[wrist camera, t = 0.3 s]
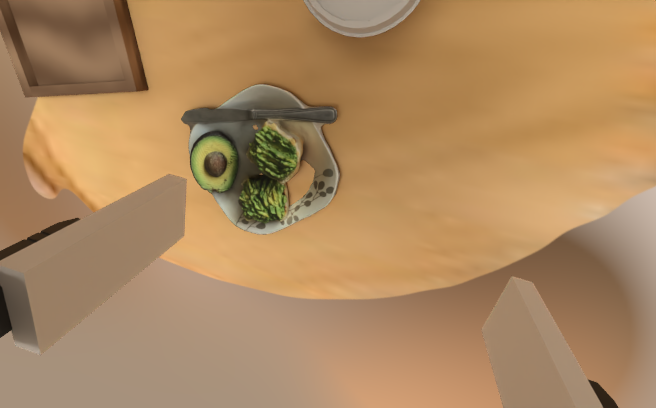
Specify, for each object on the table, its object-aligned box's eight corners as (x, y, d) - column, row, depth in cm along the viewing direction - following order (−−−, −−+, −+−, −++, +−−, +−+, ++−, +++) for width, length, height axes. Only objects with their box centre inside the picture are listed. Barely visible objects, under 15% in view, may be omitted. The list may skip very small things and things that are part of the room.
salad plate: (303, 38, 36) (290, 35, 32) (377, 185, 40) (375, 199, 36) (173, 122, 43) (148, 129, 38) (249, 240, 47) (234, 258, 43)
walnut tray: (-14, -54, 38) (-35, -60, 36) (107, -75, 35) (91, -82, 33) (40, 95, 44) (25, 97, 43) (148, 89, 41) (136, 91, 39)
